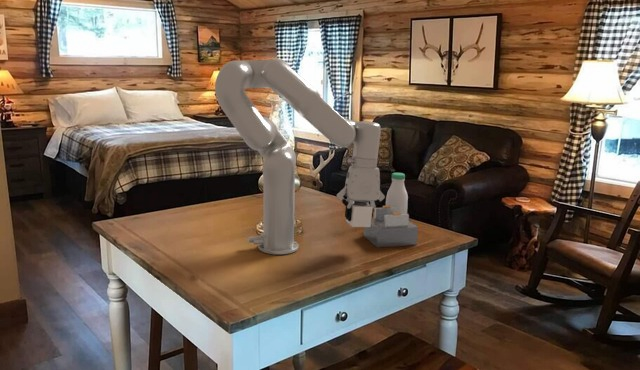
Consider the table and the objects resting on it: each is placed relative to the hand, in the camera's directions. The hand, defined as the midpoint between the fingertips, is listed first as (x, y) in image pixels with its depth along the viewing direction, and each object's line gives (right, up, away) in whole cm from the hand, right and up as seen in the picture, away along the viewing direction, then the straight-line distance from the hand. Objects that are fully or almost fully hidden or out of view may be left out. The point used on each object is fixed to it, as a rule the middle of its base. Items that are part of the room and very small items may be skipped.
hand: (358, 219), depth 170 cm
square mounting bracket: (+11, -8, +13) cm, 19 cm away
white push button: (0, -2, 0) cm, 2 cm away
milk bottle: (+15, -5, +26) cm, 31 cm away
